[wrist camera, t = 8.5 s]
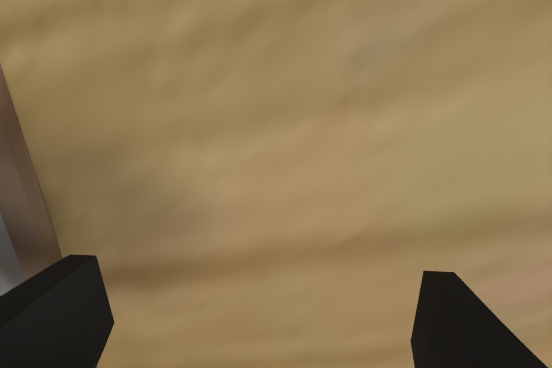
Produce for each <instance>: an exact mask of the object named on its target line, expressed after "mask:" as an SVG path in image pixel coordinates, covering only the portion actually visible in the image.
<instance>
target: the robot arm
mask: <svg viewBox="0 0 552 368" xmlns="http://www.w3.org/2000/svg"><path fill="white" fill-rule="evenodd" d="M113 325H114V319H113V316H112V312H111V308H110V305H109V301H108V297H107V294H106V290H105V286H104V283H103V279H102V275H101V272H100V268H99V264H98V260H97V257H96V256H91V255H69V256H67V257H65V258H63V259H61V260H60V261H58V262H56V263H54V264H53V265H51V266H49V267H47V268H46V269H44V270H42V271H41V272H39V273H37V274H36V275H34V276H32V277H31V278H29V279H27V280H26V281H24V282H23V283H21V284H19V285H18V286H16V287H14V288H13V289H11V290H10V291H8V292H6V293H5V294H3V295H1V296H0V368H96V366H97V364H98V361H99V359H100V357H101V354H102V352H103V350H104V347H105V345H106V342H107V340H108V337H109V335H110V332H111V330H112V327H113ZM411 346H412V352H413V359H414V365H415V368H548V367H547V366H546V365H545V364H544V363H543V362H541V361H540V360H539V359H538V358H537V357H536V356H535V355H534V354H533V353H532V352H531V351H530V350H529V349H528V348H527V347H526V346H525V345H524V344H523V343H522V342H521V341H520V340H519V339H518V338H517V337H516V336H515V335H514V334H513V333H512V332H511V331H510V330H509V329H508V328H507V327H506V326H505V325H504V324H503V323H502V322H501V321H500V320H499V319H498V318H497V317H496V316H495V315H494V314H493V313H492V312H491V310H490V309H489V308H488V307H487V306H486V305H485V304H484V303H483V302H482V301H481V300H480V299H479V298H478V297H477V296H476V295H475V294H474V293H473V292H472V290H471V289H470V288H469V287H468V286H467V285H466V284H465V283H464V282H463V281H462V280H461V279H460V278H459V277H458V276H457V275H456V274H455V273H454V272H438V271H424V272H423V277H422V283H421V288H420V294H419V299H418V304H417V310H416V315H415V321H414V326H413V332H412V337H411Z"/></svg>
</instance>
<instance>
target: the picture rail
mask: <svg viewBox="0 0 552 368" xmlns="http://www.w3.org/2000/svg"><path fill="white" fill-rule="evenodd" d="M61 259H62V256H61V253H60V250H59V247H58V244H57V241H56V237H55V234H54V231H53V228H52V225H51V222H50V219H49V216H48V212H47V209H46V206H45V203H44V200H43V197H42V194H41V191H40V187H39V184H38V181H37V178H36V175H35V172H34V169H33V166H32V162H31V159H30V156H29V153H28V150H27V147H26V144H25V140H24V137H23V134H22V131H21V128H20V125H19V122H18V119H17V115H16V112H15V109H14V106H13V103H12V100H11V97H10V94H9V90H8V87H7V84H6V81H5V78H4V75H3V72H2V69H1V65H0V296H1V295H3V294H5V293H6V292H8V291H10V290H11V289H13V288H14V287H16V286H18V285H19V284H21V283H23V282H24V281H26V280H27V279H29V278H31V277H32V276H34V275H36V274H37V273H39V272H41V271H42V270H44V269H46V268H47V267H49V266H51V265H53V264H54V263H56V262H58V261H60V260H61ZM96 368H97V366H96Z"/></svg>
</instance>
